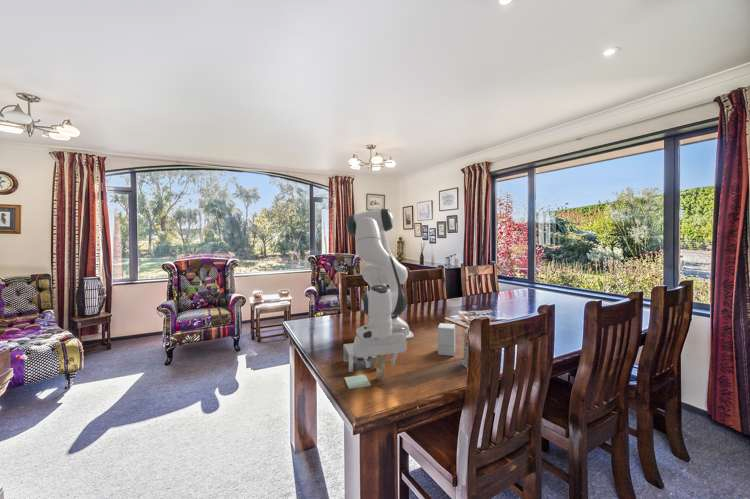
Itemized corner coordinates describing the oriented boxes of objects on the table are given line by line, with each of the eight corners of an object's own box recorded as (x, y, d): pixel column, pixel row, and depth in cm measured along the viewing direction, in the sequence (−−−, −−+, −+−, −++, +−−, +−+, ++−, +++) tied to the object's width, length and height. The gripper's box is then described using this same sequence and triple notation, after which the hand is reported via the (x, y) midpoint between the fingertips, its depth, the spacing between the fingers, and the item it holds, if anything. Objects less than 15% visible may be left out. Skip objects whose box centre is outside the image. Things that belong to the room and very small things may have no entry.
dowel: (383, 376, 121) (383, 351, 121) (385, 380, 119) (385, 353, 118) (375, 377, 121) (375, 351, 120) (377, 381, 118) (377, 354, 117)
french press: (472, 371, 126) (472, 308, 125) (453, 360, 137) (454, 303, 135) (491, 366, 130) (492, 306, 129) (471, 356, 141) (472, 300, 139)
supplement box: (455, 350, 148) (455, 324, 147) (454, 356, 141) (454, 328, 140) (439, 348, 150) (439, 322, 150) (437, 354, 143) (437, 327, 143)
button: (367, 357, 135) (367, 350, 134) (369, 361, 130) (369, 354, 130) (356, 358, 133) (356, 351, 133) (359, 362, 129) (359, 355, 129)
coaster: (364, 376, 122) (364, 374, 122) (370, 385, 114) (370, 384, 114) (344, 378, 120) (344, 377, 120) (348, 388, 112) (348, 387, 112)
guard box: (374, 356, 141) (374, 340, 140) (383, 367, 129) (383, 350, 129) (343, 360, 137) (343, 344, 136) (349, 372, 125) (349, 354, 125)
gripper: (403, 324, 125) (403, 359, 125) (352, 329, 119) (352, 365, 119) (409, 329, 119) (409, 365, 119) (356, 334, 113) (356, 372, 113)
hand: (380, 365), depth 119 cm, fingers open, 8 cm apart
